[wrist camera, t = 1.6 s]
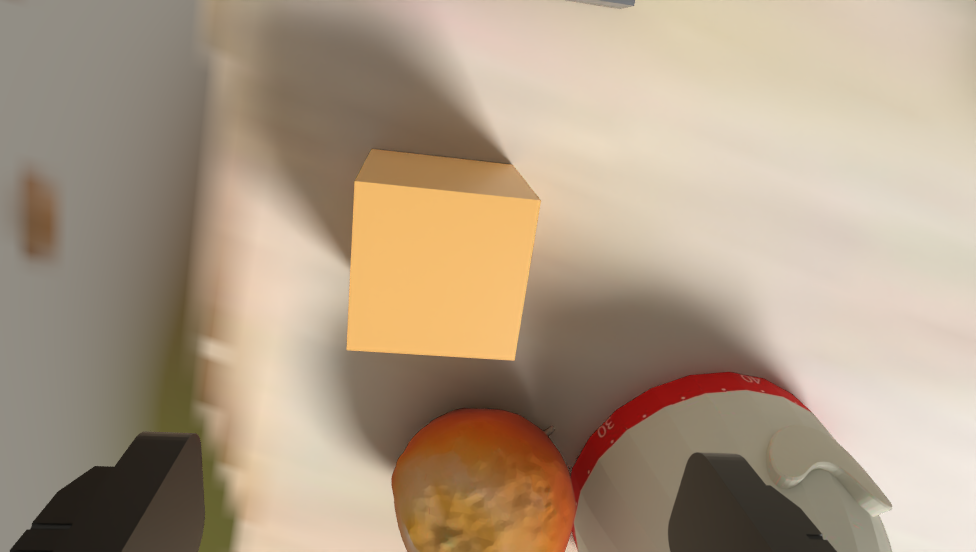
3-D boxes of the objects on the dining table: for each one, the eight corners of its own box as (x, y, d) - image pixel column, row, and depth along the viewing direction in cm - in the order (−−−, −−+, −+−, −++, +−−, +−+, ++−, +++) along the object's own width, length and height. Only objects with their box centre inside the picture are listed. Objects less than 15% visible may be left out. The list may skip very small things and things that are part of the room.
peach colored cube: (512, 164, 23) (540, 200, 18) (494, 292, 25) (514, 360, 20) (371, 148, 22) (354, 181, 17) (364, 281, 24) (346, 350, 19)
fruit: (569, 546, 29) (511, 677, 22) (437, 472, 32) (346, 568, 24) (623, 414, 26) (577, 513, 19) (474, 345, 29) (385, 410, 22)
